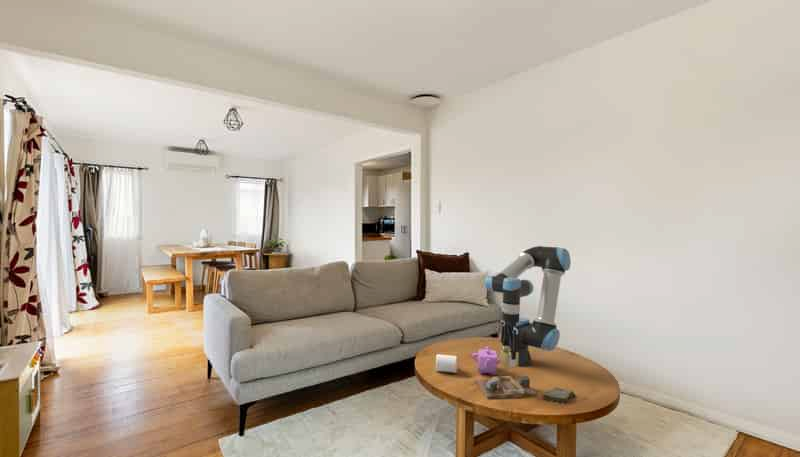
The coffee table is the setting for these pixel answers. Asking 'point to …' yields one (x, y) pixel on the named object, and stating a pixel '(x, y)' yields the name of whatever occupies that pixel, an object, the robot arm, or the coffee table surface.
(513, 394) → the framed base plate
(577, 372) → the coffee table surface
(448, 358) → the mug
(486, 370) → the teapot
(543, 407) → the coffee table surface
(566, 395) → the stone
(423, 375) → the coffee table surface
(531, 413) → the coffee table surface
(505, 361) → the gold cube
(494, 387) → the shafts
